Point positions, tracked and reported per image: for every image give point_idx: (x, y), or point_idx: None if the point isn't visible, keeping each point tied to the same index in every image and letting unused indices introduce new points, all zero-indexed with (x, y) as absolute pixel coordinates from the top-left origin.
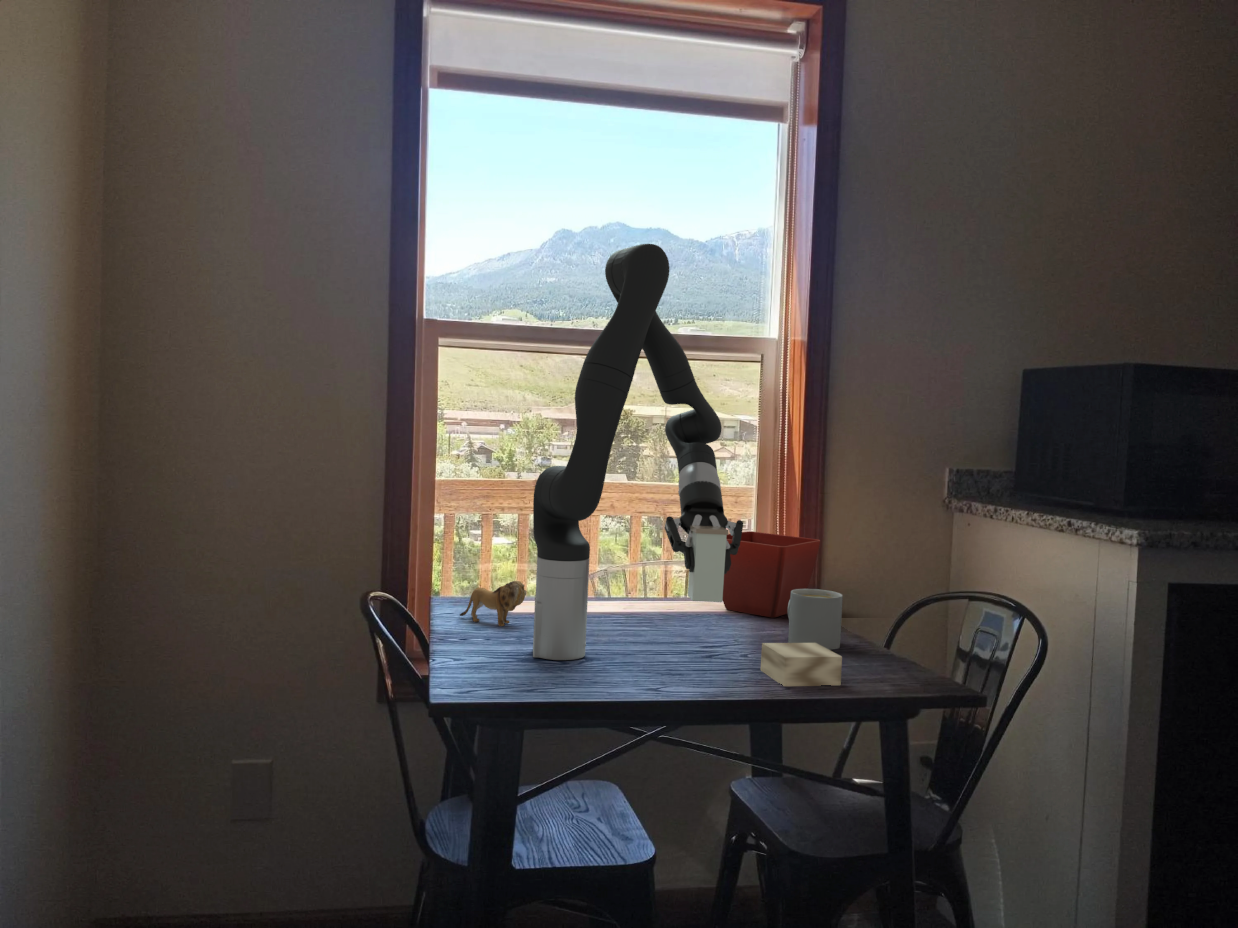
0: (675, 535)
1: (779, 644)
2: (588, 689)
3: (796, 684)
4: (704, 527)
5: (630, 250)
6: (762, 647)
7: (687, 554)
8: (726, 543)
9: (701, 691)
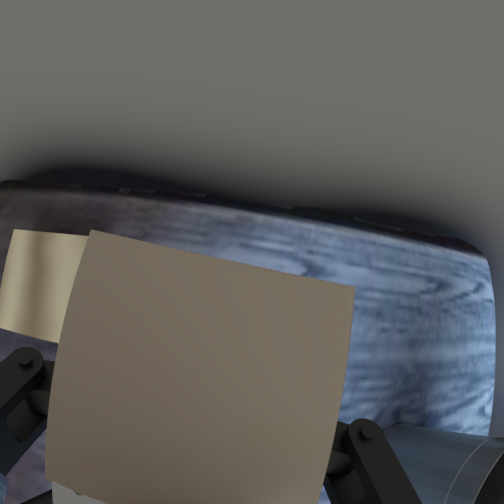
0: (385, 460)
1: (52, 329)
2: (389, 282)
3: None
4: (243, 399)
5: None
6: None
7: None
8: None
9: (246, 249)
